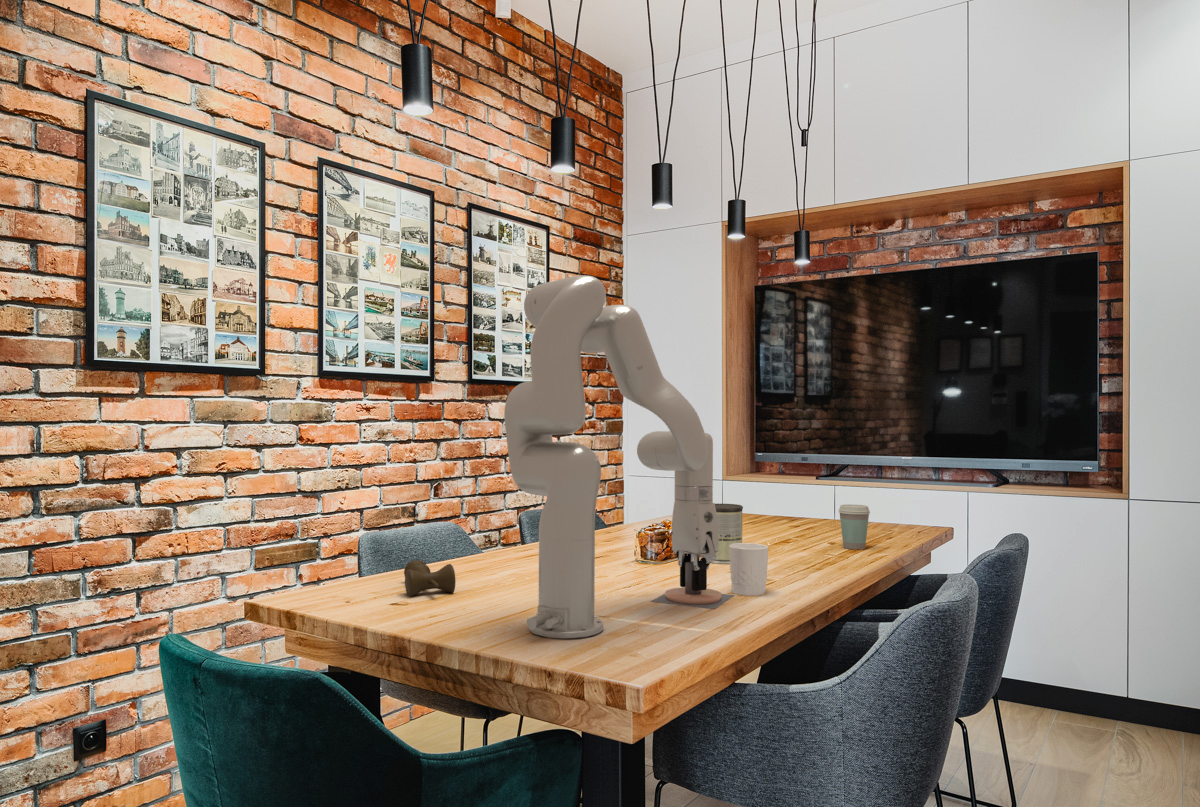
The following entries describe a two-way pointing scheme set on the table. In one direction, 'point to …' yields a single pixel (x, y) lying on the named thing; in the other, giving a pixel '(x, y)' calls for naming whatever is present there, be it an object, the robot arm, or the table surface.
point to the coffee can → (728, 530)
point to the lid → (690, 596)
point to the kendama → (428, 578)
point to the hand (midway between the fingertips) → (693, 587)
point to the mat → (711, 606)
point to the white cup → (748, 568)
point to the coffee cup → (854, 525)
